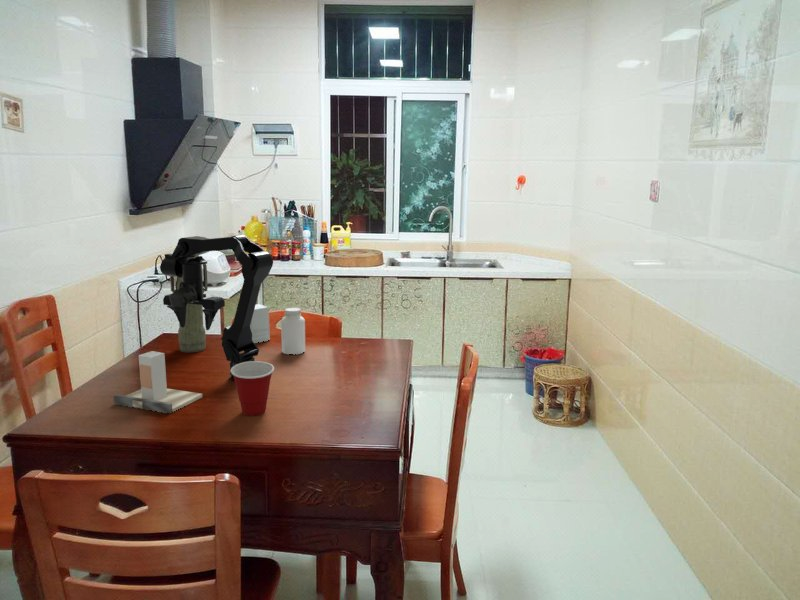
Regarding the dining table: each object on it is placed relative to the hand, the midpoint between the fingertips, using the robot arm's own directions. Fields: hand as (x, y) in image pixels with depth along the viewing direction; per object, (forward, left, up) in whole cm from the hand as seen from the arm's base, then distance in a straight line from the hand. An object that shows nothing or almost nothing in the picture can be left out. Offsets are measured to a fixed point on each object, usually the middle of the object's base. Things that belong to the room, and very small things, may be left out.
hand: (195, 328), depth 193 cm
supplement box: (+2, -36, -13) cm, 38 cm away
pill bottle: (-18, -28, -13) cm, 36 cm away
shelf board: (-8, +26, -13) cm, 30 cm away
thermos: (+16, -18, -13) cm, 27 cm away
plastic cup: (-36, +24, -13) cm, 45 cm away
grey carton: (-7, +27, -12) cm, 30 cm away
